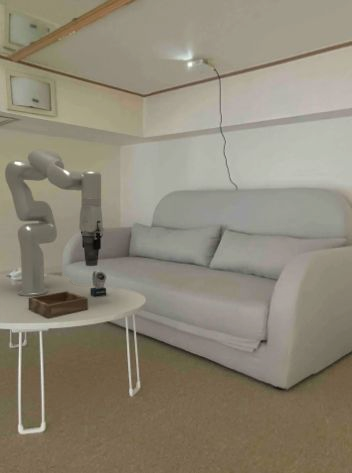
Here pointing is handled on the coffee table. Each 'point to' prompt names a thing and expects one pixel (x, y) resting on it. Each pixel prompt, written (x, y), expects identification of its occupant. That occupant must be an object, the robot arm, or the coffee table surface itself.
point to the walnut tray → (58, 304)
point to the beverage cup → (90, 249)
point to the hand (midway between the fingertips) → (91, 248)
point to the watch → (98, 284)
